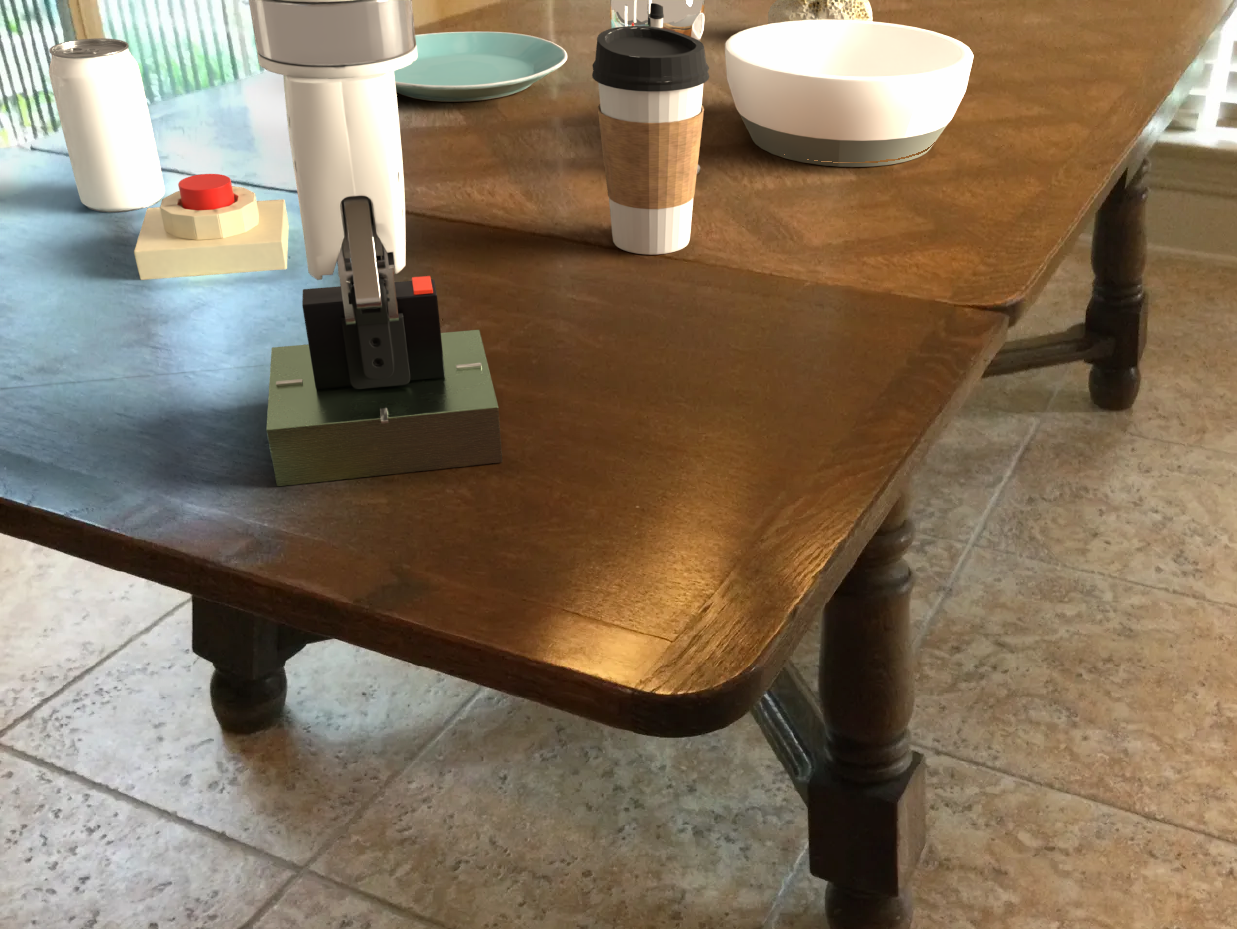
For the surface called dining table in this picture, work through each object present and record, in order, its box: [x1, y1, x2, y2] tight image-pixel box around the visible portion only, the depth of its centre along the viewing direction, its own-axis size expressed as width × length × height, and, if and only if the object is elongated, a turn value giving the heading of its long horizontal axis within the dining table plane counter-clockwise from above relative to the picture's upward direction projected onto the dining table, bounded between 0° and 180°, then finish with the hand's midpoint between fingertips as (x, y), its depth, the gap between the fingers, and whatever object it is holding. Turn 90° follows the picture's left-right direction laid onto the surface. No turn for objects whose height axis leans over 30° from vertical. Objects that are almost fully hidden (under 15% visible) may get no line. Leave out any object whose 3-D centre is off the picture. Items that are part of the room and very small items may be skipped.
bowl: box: [724, 20, 974, 168], centre depth 120 cm, size 22×22×8 cm
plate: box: [394, 31, 568, 103], centre depth 136 cm, size 22×22×3 cm
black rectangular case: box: [301, 275, 445, 389], centre depth 71 cm, size 7×2×5 cm, turn 104°
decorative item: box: [767, 0, 873, 24], centre depth 154 cm, size 12×9×10 cm
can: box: [48, 37, 166, 213], centre depth 102 cm, size 6×6×12 cm
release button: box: [177, 173, 235, 211], centre depth 94 cm, size 4×4×2 cm
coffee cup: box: [591, 26, 710, 256], centre depth 96 cm, size 8×8×15 cm
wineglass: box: [609, 0, 706, 178], centre depth 108 cm, size 8×8×20 cm
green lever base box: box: [265, 329, 503, 487], centre depth 74 cm, size 12×11×4 cm
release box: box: [133, 185, 290, 281], centre depth 96 cm, size 10×9×4 cm
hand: (379, 369), depth 73 cm, fingers closed on black rectangular case, 2 cm apart
